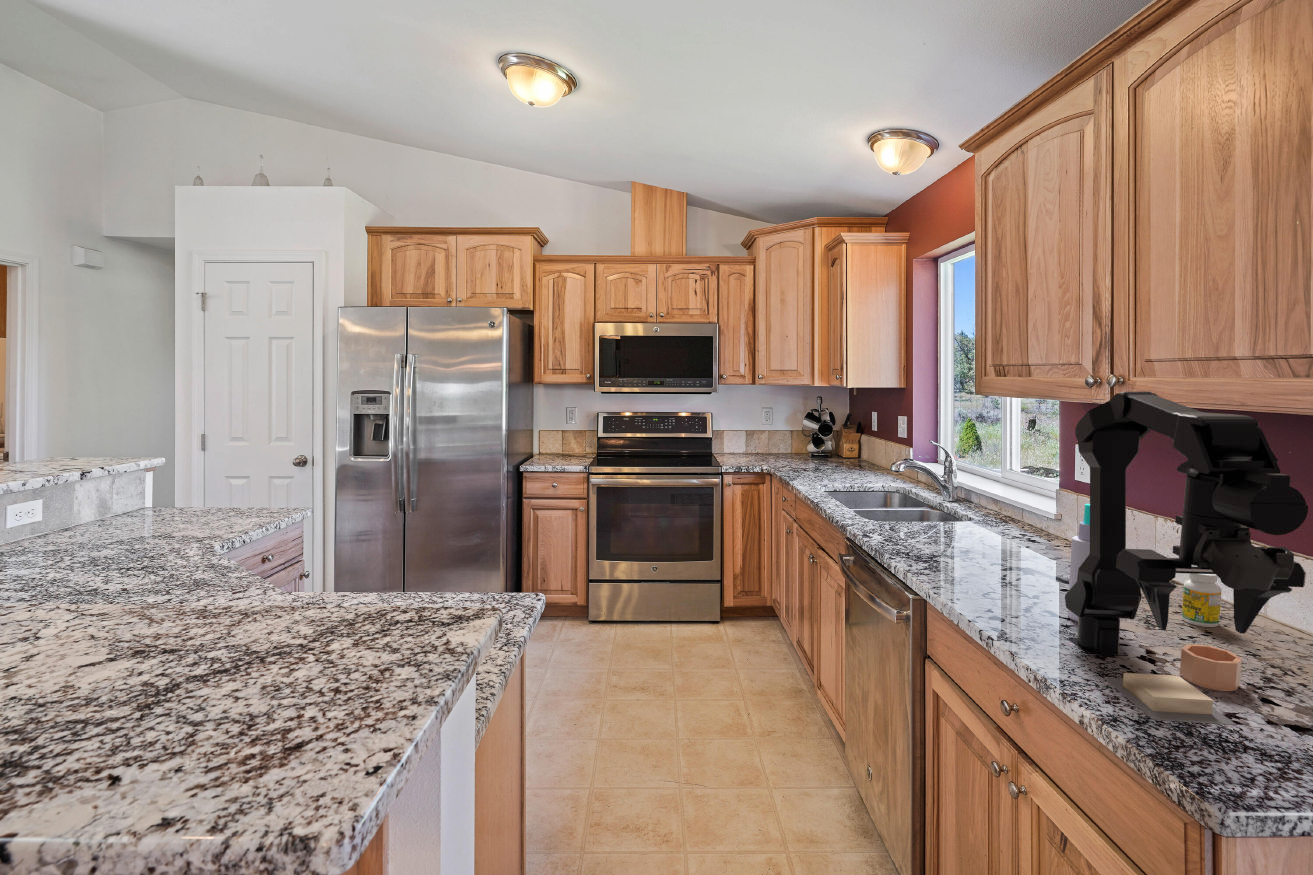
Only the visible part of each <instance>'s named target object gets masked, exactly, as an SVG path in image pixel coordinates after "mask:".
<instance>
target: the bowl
mask: <svg viewBox="0 0 1313 875" xmlns="http://www.w3.org/2000/svg"><path fill="white" fill-rule="evenodd" d="M1180 650H1181V651H1180V652H1181V653H1180V665H1179V674H1180V675H1181V678H1182V679H1183V680H1185V681H1186V682H1188V683H1190V684H1193V685H1196V686H1198V687H1201V688H1205V689H1209V690H1212V691H1213V690H1214V691H1220V692H1234V691H1237V690H1238V688H1239V686H1241V674H1242V663H1243V657H1240V656H1238V655H1237V654H1235V653H1234V652H1232V651H1230V650H1227V649H1223V648H1219V647H1215V646H1211V645H1208V644H1190V643H1187V644H1185V645H1184V646H1183V647H1182V648H1181V649H1180Z"/></svg>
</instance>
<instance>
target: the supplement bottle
mask: <svg viewBox="0 0 1313 875" xmlns="http://www.w3.org/2000/svg"><path fill="white" fill-rule="evenodd" d="M1188 577H1189V579H1188V580H1185V582H1184V584H1183V589H1182V590H1183V592H1182V606H1181V609H1182V610H1181V619H1182V620H1183V621H1184V622H1185V623H1187V624H1191V625H1192V626H1193V625H1194V626H1197V627H1203V628H1216V627H1218V626H1219V625H1220V620H1221V602H1222V588H1221V586H1220V585H1219V584H1217V581H1218V576H1217V575H1216V574H1190V573H1188Z"/></svg>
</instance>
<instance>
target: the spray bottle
mask: <svg viewBox="0 0 1313 875" xmlns="http://www.w3.org/2000/svg"><path fill="white" fill-rule="evenodd" d="M1083 512H1084V514H1083V520H1082V521H1080V522H1079V524H1078V534H1077V535H1076V536H1072V537H1071V545H1070V560H1069V562H1070V563H1069V577H1068V580H1069V581H1068V591H1069V590H1070V589H1071V588H1072V587H1073V585H1074V584H1075V583H1076V582H1077V576H1078V569H1079V567H1080V566H1081V565H1082V563H1083V562H1084V561H1085V559H1086V558H1087V557H1088V555H1089V553H1090V503H1085V504H1084V510H1083ZM1067 616H1068V618H1070V619H1071V620H1073V621H1074V622H1077V623H1078V619H1079V617H1078V616H1077V615H1075V614H1074V613H1073V612H1071V611H1070V610H1069V609H1067Z"/></svg>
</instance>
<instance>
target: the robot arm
mask: <svg viewBox="0 0 1313 875" xmlns="http://www.w3.org/2000/svg"><path fill="white" fill-rule="evenodd" d="M1259 425H1260V423H1259V422H1258V421H1257V420H1256V418H1254V417H1252V416H1249V415H1242V414H1233V413H1216V412H1205V411H1204V412H1203V411H1201V410H1197V409H1194V408H1192V407H1189V406H1187V405H1183V404H1182V403H1178V402H1175V401H1173V400H1170V399H1167V398H1164V397H1162V396H1158V394H1157V393H1155V392H1151V391H1145V390H1144V391H1143V390H1142V391H1141V390H1140V391H1136V390H1135V391H1120V392H1117V393H1115V394H1114V395H1112V397H1111V398H1110V399H1109V400H1108V401H1105V402H1104V403H1102V404H1099V405H1097V406H1095V407H1092V408H1091V409H1089V410H1087V412H1086V413H1085V414H1084V415H1083V417H1082V418H1080V420H1079V421H1078V422H1077V424H1076V426H1075V431H1074V432H1075V433H1074V434H1075V437H1076V440H1077V447H1078V454H1080V456H1081V457H1082V458H1083V460H1084V461H1085V463H1086V465H1088V467H1089V504H1090V553H1089V555H1088V557H1087V558H1086V559H1085V561H1084V562H1083V563H1082V565H1081V566H1080V567H1079V569H1078V576H1077V582H1076V583H1075V584H1074V585H1073V587H1072V588H1071V589H1070V590H1069V589H1068V591H1067V592H1066V593H1065V595H1064V600H1065V602H1064V603H1065V608H1066V609H1067V610H1068V609H1069V610H1070V611H1071V612H1073V613H1074V614H1075V615H1077V616H1078V617H1079V619H1078V622H1077V623H1078V624H1077V636H1076V637H1071V636H1070V637H1068V638H1067V641H1068V642H1071V643H1072V644H1073V645H1075V646H1076V647H1077V648H1078V649H1079V650H1081V651H1082V652H1083V653H1085V654H1088V655H1101V656H1102V655H1103V656H1122V657H1128V656H1129V653H1127V652H1126V651H1125V650H1123V649H1122V648H1121V647H1119V646H1120V629H1121V628H1120V627H1121V619H1125V620H1126V619H1129V620H1135V619H1136V614H1137V613H1138V609H1139V607H1140V604H1141V601H1142V596H1143V595H1144V598H1145V600H1146V602H1147V605H1148V606H1149V609H1150V611H1151V614H1152V616H1153V618H1154V621H1155V624H1156V626H1157V628H1158V629H1159V630H1161V631H1166V630H1167V628H1168V622H1169V611H1170V599H1171V598H1170V596H1171V593H1172V592H1174V591H1175V589H1176V588H1177V585H1176V584H1174V583H1172V582H1171V581H1172V580H1173V579H1175V578H1176V574H1189V573H1190V574H1216V575H1217V578H1219V579H1220V582H1221V583H1222V585H1224V586H1225V587H1227V588H1229V589H1232V590H1233V594H1232V596H1233V622H1234V627H1235V631H1236V632H1237V633H1239V634H1242V635H1243V634H1246V633H1247V631H1248V630H1249V628H1250V626H1251V625H1252V623H1253V622H1254V621H1255V620H1256V618H1257V616H1258V614H1259V613H1260V612H1261V610H1262V609H1263V608H1264V606H1265V605H1266V604H1267V602H1269V601H1270V600H1271V599H1272V598H1273V597H1276V596H1279V595H1280V594H1286V593H1291V592H1292V591H1293V588H1304V587H1305V584H1306V578H1307V577H1306V575H1307V573H1306V570H1305V569H1304V567H1303V566H1302V565H1301V563H1299V562H1297V561H1295V554H1294V553H1293V552H1292V551H1291V550H1290V549H1288V548H1287V547H1285V546H1268V547H1265V546H1256V545H1255V546H1254V545H1253V544H1252V541H1251V531H1250V529H1252V530H1255V531H1257V532H1258V531H1259V532H1261V533H1263V534H1264V533H1265V534H1267V535H1270V536H1271V535H1272V536H1283V535H1287V534H1290V533H1293V532H1294V531H1296V530H1297V529H1298V528H1300V527H1301V526H1302V525H1303V524H1304V522H1305V520H1306V518H1307V517H1308V513H1309V506H1308V504H1307V503H1306V499H1305V497H1304V495H1303V494H1302V493H1301V492H1300V491H1299V489H1296V488H1294V487H1292V486H1291V476H1290V475H1289V474H1285V473H1281V469H1280V467H1279V465H1278V462H1279V459H1278V457H1276V455H1275V454H1274V452H1273V451H1272V449H1271V447H1270V444H1269V442H1268V440H1267V437H1266V436H1265V434H1264V431H1263V430H1262V428H1261V427H1260V426H1259ZM1151 430H1152V431H1155V432H1157V433H1159V434H1161V435H1163V436H1166V437H1167V438H1170V439H1171V440H1172V447H1173V448H1174V449H1175V450H1176V451H1178V453H1180V454H1181V455H1183V457H1185V458H1186V459H1187V460H1186V461H1185V462H1183V463H1181V464H1180V465H1178V466H1177V468H1176V470H1177V472H1179V473H1181V474H1182V473H1183V474H1185V475H1186V476H1185V483H1184V484H1185V485H1184V497H1183V507H1182V508H1183V510H1182V515H1175V524H1176V525H1179V526H1181V529H1180V542H1179V545H1173V546H1172V554H1175V555H1176V556H1177V557H1168V556H1165V555H1164V554H1161V553H1159V552H1157V551H1155V550H1153V549H1145V548H1144V549H1143V548H1139V549H1138V548H1126V547H1127V546H1126V545H1127V468H1128V467H1129V466H1130V464H1131V463H1132V462H1133V460H1134V459H1135V458H1136V457H1137V455H1138V454H1139V450H1140V440H1142V439H1143V438H1144V437H1145V436H1146V435H1147V434H1148V433H1149V432H1151ZM1141 591H1142V592H1141ZM1142 593H1143V595H1142Z"/></svg>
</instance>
